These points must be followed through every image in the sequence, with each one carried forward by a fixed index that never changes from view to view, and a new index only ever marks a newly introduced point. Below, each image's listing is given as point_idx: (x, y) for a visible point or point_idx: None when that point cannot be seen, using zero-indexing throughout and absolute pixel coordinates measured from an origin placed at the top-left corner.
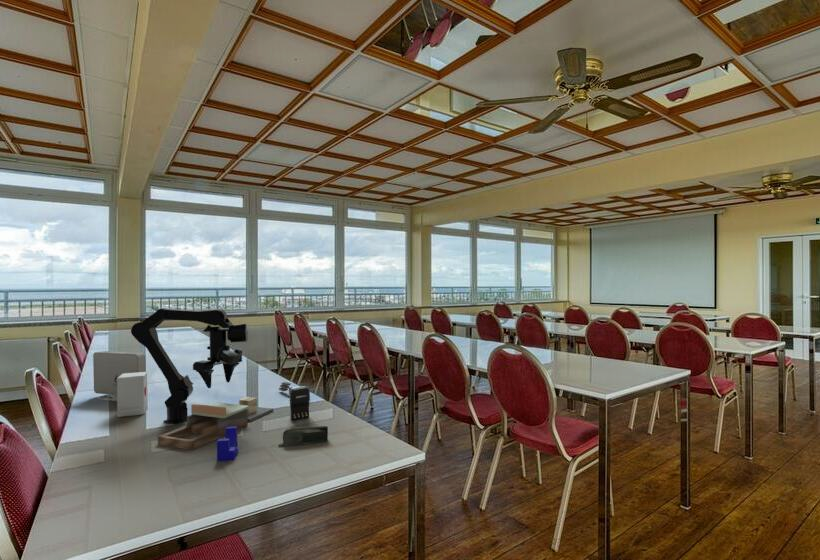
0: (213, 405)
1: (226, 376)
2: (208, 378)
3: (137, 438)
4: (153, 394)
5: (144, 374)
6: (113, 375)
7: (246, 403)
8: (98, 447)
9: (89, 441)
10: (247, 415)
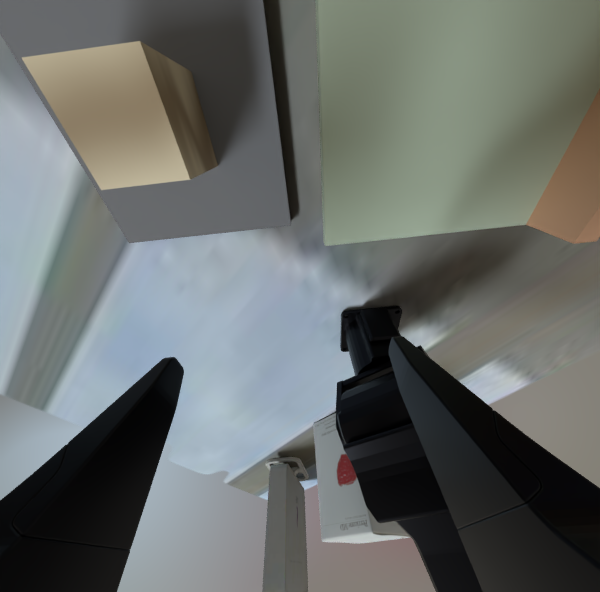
0: (393, 215)
1: (159, 425)
2: (519, 434)
3: (534, 294)
4: (247, 460)
5: (354, 536)
6: (298, 525)
7: (167, 86)
8: (595, 316)
9: (535, 359)
10: (212, 56)
